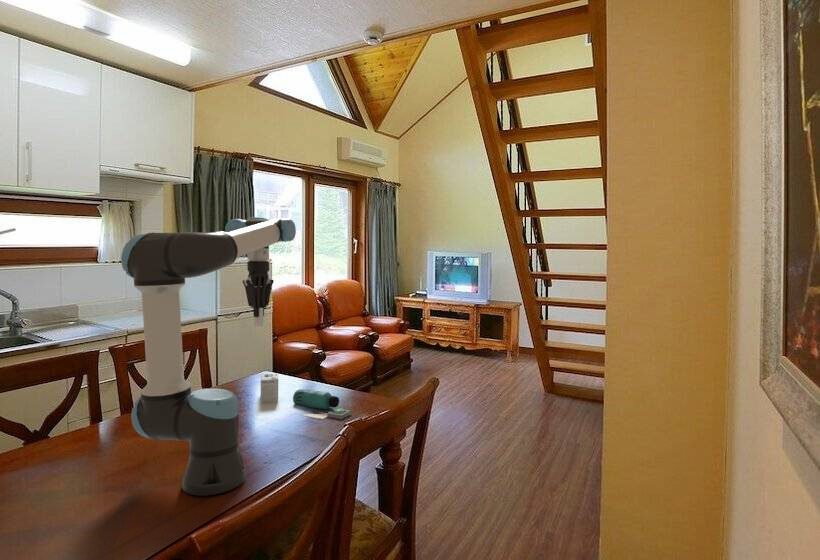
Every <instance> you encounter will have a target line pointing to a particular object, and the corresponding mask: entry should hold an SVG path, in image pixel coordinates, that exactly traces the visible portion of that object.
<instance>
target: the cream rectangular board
mask: <svg viewBox="0 0 820 560" xmlns="http://www.w3.org/2000/svg"><path fill="white" fill-rule="evenodd" d="M302 416H303V417H307V418H310V419H311V418H312V419H317V420H325V419H326V418H328V417H327V414H325V413H324V414H313V413H307V414H302Z"/></svg>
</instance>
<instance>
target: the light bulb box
mask: <svg viewBox="0 0 820 560" xmlns="http://www.w3.org/2000/svg"><path fill="white" fill-rule="evenodd" d="M278 402H279V375H278V373H267V374H263V373H262V374H261V375H260V404H271V403H272V404H276V403H278Z"/></svg>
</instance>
